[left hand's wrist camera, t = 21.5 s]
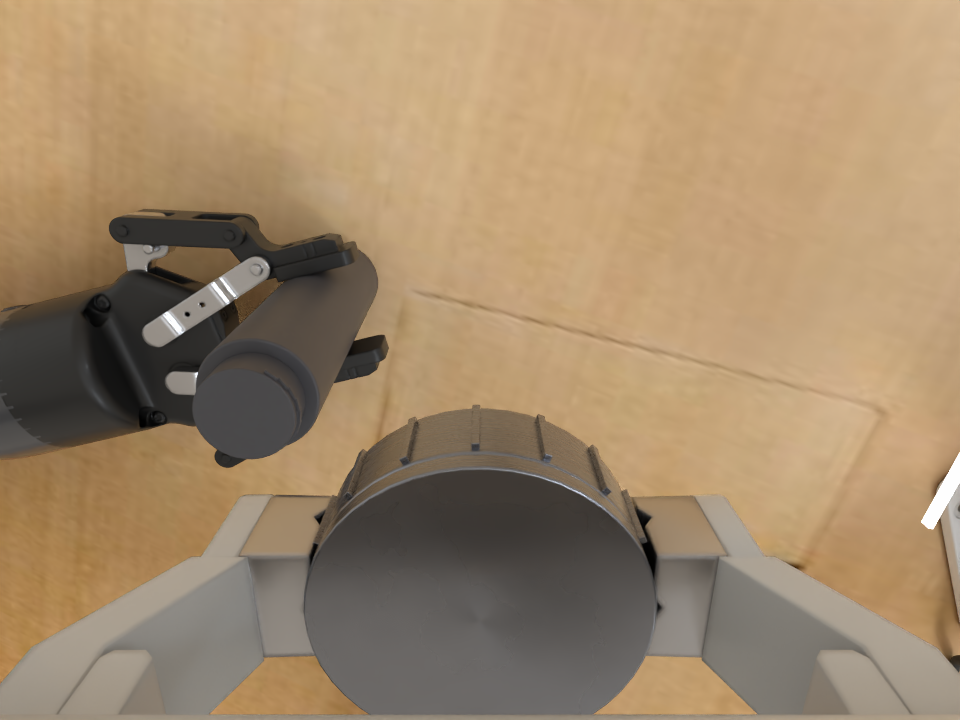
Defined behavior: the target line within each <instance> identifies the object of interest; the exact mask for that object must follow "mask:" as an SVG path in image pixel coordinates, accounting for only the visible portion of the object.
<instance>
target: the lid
mask: <svg viewBox="0 0 960 720" xmlns="http://www.w3.org/2000/svg"><path fill="white" fill-rule="evenodd" d="M646 542H647V540H646V537H645V535H644V532H643V529H642V527H641V524H640V522H639V519H638V517H637V514H636V511H635V509H634V506H633V504H632V501H631V499H630V496H629V494H628V491H627V490H623V491H621V489H620V487H619V484H618V483H617V481H616V479H615V478H614V476H613V475H612V473H611V471H610V470H609V468H608V467H607V466H606V465H605V464H604V462H603V461H602V460H601V458H600V456H599V453H598V450H597V448H596V447H595V446H594V445H591V446H590V447H588V446H587V445H585V444H584V443H583V442H582V441H580V440H579V439H577V438H576V437H574V436H573V435H571V434H570V433H568V432H567V431H565V430H563V429H561V428H559V427H557V426H555V425H553V424H551V423H549V422H546V421H545V417H544V416H542V415H539V414H538V415H537V417H536V418H535V417H532V416H529V415H525V414H521V413H516V412H512V411H507V410H496V409H480V405H473V409H463V410H455V411H448V412H443V413H439V414H436V415H432V416H428V417H425V418H422V419H420V420H417V419H416V417H413V418H411V419H409V422H408V424H407V425H405V426H403V427H401V428H400V429H398V430H396V431H394V432H392V433H391V434H389V435H387V436H386V437H385V438H383V439H382V440H381V441H379V442H378V443H377V444H375V445H374V446H373V447H372V448H371V449H370V450H369V451H368V452H366V451H365V450H364V449H363V450H362V451H361V452H360V453H359V454H358V457H357V460H356V462H355V465H354V467H353V469H352V470H351V471H350V473H349V474H348V476H347V478H346V479H345V481H344V483H343V485H342V487H341V489H340V491H339V493H338V496H334V495H332V497H331V499H330V501H329V504H328V506H327V509H326V511H325V514H324V516H323V519H322V521H321V524H320V526H319V529H318V531H317V534H316V536H315V538H314V541H313V544H314V549H316V552H315V555H314V557H313V560H312V563H311V566H310V569H309V572H308V574H307V578H306V584H305V590H304V618H305V625H306V631H307V634H308V638H309V641H310V644H311V647H312V650H313V652H314V654H315V656H316V657H317V659H318V661H319V663H320V665H321V667H322V668H323V670H324V671H325V673H326V674H327V675H328V677H329V678H330V680H331V681H332V682H333V683H334V684H335V685H336V687H337V688H338V689H339V690H340V691H341V692H342V693H343V694H344V695H345V696H346V697H347V698H348V699H350V700H351V701H352V702H353V703H354V704H356V705H357V706H358V707H359V708H361V709H362V710H364V711H365V712H367V713H368V714H370V715H592V714H594V713H595V712H597V711H598V710H599V709H601V708H602V707H604V706H605V705H606V704H608V703H609V702H610V701H611V700H612V699H613V698H614V697H615V696H616V695H617V694H619V693H620V692H621V691H622V690H623V688H624V687H625V686H626V685H627V684H628V682H629V681H630V680H631V679H632V678H633V676H634V675H635V673H636V672H637V670H638V668H639V667H640V665H641V664H642V662H643V660H644V658H645V656H646V654H647V651H648V649H649V647H650V644H651V641H652V637H653V633H654V629H655V625H656V615H657V596H656V587H655V582H654V578H653V574H652V570H651V567H650V565H649V562H648V559H647V557H646V554H645V551H644V549H643V546H642V544H643V543H646Z"/></svg>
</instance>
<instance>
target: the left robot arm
mask: <svg viewBox="0 0 960 720" xmlns="http://www.w3.org/2000/svg"><path fill="white" fill-rule="evenodd" d="M331 497H332V496H305V495H275V496H274V495H244V496H242V497H240V498H239V499H238V500H237V502H236V503H235V505H234V506H233V508H232V509H231V511H230V513H229V514H228V516H227V517H226V519H225V520H224V522H223V523H222V525H221V526H220V528H219V530H218V531H217V533H216V534H215V536H214V537H213V539H212V540H211V542H210V543H209V545H208V546H207V548H206V550H205V551H204V553H203V554H202V556H201V557H190V558H188V559H186V560H185V561H183V562H181V563H179V564H178V565H176V566H174V567H172V568H171V569H169V570H167V571H165V572H164V573H162V574H160V575H158V576H156V577H155V578H153V579H151V580H149V581H148V582H146V583H144V584H142V585H141V586H139V587H137V588H135V589H134V590H132V591H130V592H128V593H126V594H125V595H123V596H121V597H119V598H118V599H116V600H114V601H112V602H111V603H109V604H107V605H105V606H103V607H102V608H100V609H98V610H96V611H95V612H93V613H91V614H89V615H88V616H86V617H84V618H82V619H81V620H79V621H77V622H75V623H73V624H72V625H70V626H68V627H66V628H65V629H63V630H61V631H59V632H58V633H56V634H54V635H52V636H51V637H49V638H47V639H45V640H43V641H42V642H40V643H38V644H36V645H35V646H33V647H31V649H30V650H29V651H28V652H27V653H26V654H25V656H24V657H23V658H22V659H21V660H20V661H19V663H18V664H17V665H16V666H15V667H14V668H13V670H12V671H11V672H10V673H9V674H8V675H7V677H6V678H5V679H4V680H3V681H2V682H1V684H0V720H960V674H959V671H960V655H957V656H953V657H952V658H951V660H950V662H949V661H948V660H947V659H946V657H945V656H944V655H943V654H942V653H941V652H940V650H939V649H938V648H936V647H935V646H933V645H931V644H929V643H927V642H926V641H924V640H922V639H920V638H919V637H917V636H915V635H913V634H911V633H910V632H908V631H906V630H904V629H903V628H901V627H899V626H897V625H895V624H894V623H892V622H890V621H888V620H887V619H885V618H883V617H881V616H879V615H878V614H876V613H874V612H872V611H871V610H869V609H867V608H865V607H863V606H862V605H860V604H858V603H856V602H855V601H853V600H851V599H849V598H847V597H846V596H844V595H842V594H840V593H839V592H837V591H835V590H833V589H832V588H830V587H828V586H826V585H824V584H823V583H821V582H819V581H817V580H816V579H814V578H812V577H810V576H808V575H807V574H805V573H803V572H801V571H800V570H798V569H796V568H794V567H792V566H791V565H789V564H787V563H785V562H784V561H782V560H780V559H778V558H776V557H765V555H764V554H763V552H762V551H761V549H760V548H759V546H758V545H757V543H756V542H755V540H754V539H753V537H752V536H751V534H750V533H749V531H748V530H747V528H746V527H745V525H744V524H743V522H742V521H741V519H740V518H739V516H738V515H737V514H736V512H735V511H734V509H733V508H732V506H731V505H730V503H729V502H728V500H727V499H726V497H724V496H722V495H721V494H714V495H690V496H655V497H630V499H631V501H632V504H633V506H634V509H635V511H636V514H637V517H638V519H639V522H640V524H641V527H642V529H643V532H644V535H645V537H646V540H647V542H646V543H643V544H642V546H643V549H644V551H645V554H646V557H647V559H648V562H649V565H650V567H651V570H652V574H653V578H654V582H655V587H656V596H657V615H656V625H655V629H654V633H653V637H652V641H651V644H650V647H649V649H648V651H647V654H646V656H673V657H702V661H703V662H704V663H705V664H706V665H708V666H709V667H710V668H711V669H712V670H713V671H714V672H715V673H716V674H717V675H718V676H719V677H720V678H721V679H722V680H723V681H724V682H725V683H726V684H727V685H728V686H729V687H730V688H731V689H732V690H733V691H734V692H735V693H736V694H737V695H739V696H740V697H741V698H742V699H743V700H744V701H745V702H746V703H747V704H748V705H749V706H750V707H751V708H752V709H753V710H754V711H755V712H756V713H757V714H758V715H209V714H210V713H211V712H212V711H213V710H214V709H215V708H216V707H217V706H218V705H219V704H220V703H221V702H222V701H223V700H224V699H225V698H226V697H227V696H228V695H229V694H230V693H231V692H232V691H233V690H234V689H235V688H236V687H237V686H238V685H239V684H240V683H241V682H242V681H243V680H244V679H246V678H247V677H248V676H249V675H250V674H251V673H252V672H253V671H254V670H255V669H256V668H257V667H258V666H259V665H260V664H261V663H262V662H263V661H264V657H292V656H315V654H314V652H313V650H312V647H311V644H310V641H309V638H308V634H307V631H306V625H305V618H304V590H305V584H306V578H307V574H308V572H309V569H310V566H311V563H312V560H313V557H314V555H315V552H316V549H314V544H313V541H314V538H315V536H316V534H317V531H318V529H319V526H320V524H321V521H322V519H323V516H324V514H325V511H326V509H327V506H328V504H329V501H330V499H331ZM939 517H940V519H941V525H942V530H943V536H944V541H945V547H946V552H947V558H948V563H949V569H950V574H951V580H952V585H953V590H954V596H955V601H956V607H957V612H958V617H959V622H960V453H959V455H958V457H957V459H956V461H955V462H954V464H953V466H952V468H951V469H950V471H949V473H948V475H947V477H946V478H944V479H943V480H942V481H941V483H940V484H939V485H938V487H937V490H936V496H935V498H934V500H933V502H932V504H931V505H930V507H929V509H928V511H927V513H926V514H925V516H924V518H923V520H922V523H923V524H924V525H925V526H926V527H928V528H930V529H933V528H934V526H935V524H936V523H937V521H938V519H939Z"/></svg>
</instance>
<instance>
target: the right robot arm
mask: <svg viewBox="0 0 960 720" xmlns="http://www.w3.org/2000/svg"><path fill="white" fill-rule="evenodd" d="M109 231H110V234H111V236H112V237H113V238H114V239H115V240H116V241H117V242H119V243H122V244H123V246H124V252H125V258H126V264H127V270H128V271H127V272H125V273H124V274H122V275H121V276H120V277H119V278H118V279H117V281H116V282H115V283H113V284H111V285H107V286H103V287H99V288H95V289H91V290H87V291H83V292H79V293H75V294H71V295H67V296H63V297H59V298H55V299H51V300H47V301H43V302H39V303H35V304H31V305H20V306H14V307H9V308H6V309H3V310H2V311H0V460H7V459H18V458H24V457H30V456H35V455H40V454H44V453H48V452H53V451H57V450H61V449H66V448H70V447H74V446H79V445H83V444H87V443H91V442H96V441H100V440H105V439H109V438H113V437H118V436H122V435H126V434H130V433H135V432H139V431H143V430H148V429H151V428H155V427H158V426H161V425H164V424H169V423H177V424H183V425H187V426H196V424H195V421H194V418H193V411H192V404H193V398H194V395H195V392H196V378H197V374H198V371H199V368H200V366H201V364H202V362H203V361H204V359H205V358H206V357H207V356H208V355H209V354H210V353H211V352H212V351H213V350H214V349H215V348H216V347H217V346H218V345H219V344H220V343H221V342H222V341H223V340H224V339H225V338H226V337H227V336H228V335H229V334H230V333H231V332H232V331H233V330H234V329H235V328H237V327H238V326H239V317H238V311H237V308H236V306H235V304H234V301H233V300H235V299H236V298H238V297H239V296H241V295H242V294H244V293H246V292H247V291H249V290H250V289H252V288H253V287H255V286H257V285H258V284H260V283H261V282H263V281H265V280H268V279H272V278H277V280H278V282H282V281H286V280H290V279H293V278H297V277H302V276H306V275H310V274H314V273H318V272H323V271H327V270H331V269H335V268H339V267H343V266H346V265H349V264H352V263H354V262H355V261H356V260H357V258H358V257H359V256H360V255H359V252H358V249H357V246H356V243H355V242H348V243H344V244H343V241H342V238H341V235H338V234H330V233H329V234H325V235H321V236H317V237H313V238H309V239H305V240H301V241H297V242H293V243H289V244H285V245H275V244H273V243H271V242H269V241H268V240H267V239H266V238H265V237H264V235H263V234H262V233H261V232H260V230H259V224H258V222H257V220H256V219H255V218H254V217H253V216H251V215H249V214H240V213H218V212H197V211H175V210H154V209H143V210H139V211H136V212H132V213H129V214H126V215H123V216H121V217H117V218H115V219H113V220H112V221H111V222H110V225H109ZM176 246H182V247H205V248H228V249H230V250H231V251H232V253H233V254H234V255H235V256H236V257H237V259H238V260H239V261H240V262H241V263H240V264H238V265H236V266H235V267H233V268H232V269H230V270H229V271H227V272H226V273H224V274H223V275H221V276H219V277H218V278H216V279H215V280H213V281H212V282H210V283H209V284H207V285H206V284H203V283H201V282H198V281H195V280H192V279H190V278H187V277H184V276H182V275H179V274H176V273H173V272H171V271H168V270H165V269H162V268H160V267H157V266H156V260H157V259H158V258H162V257H164V256H166V255H168V254H170V253H172V252H173V251H174V250H175V248H176ZM388 349H389V347H388V344H387V341H386V338H385V335H377V336H373V337H368V338H364V339H360V340H356V341H353V344H352V346H351V348H350V350H349V352H348V354H347V356H346V358H345V360H344V362H343V364H342V366H341V369H340V371H339V373H338V375H337V377H336V379H335V381H334V383H337V382H341V381H345V380H349V379H354V378H357V377H363V376H367V375H370V374H371V373H373V372H374V371H375V370H377V368H378V365H379V362H380V361H382V360H384V359H385V358H386V355H387V352H388ZM215 460H216V462H217V463H218V464H219V465H220V466H222V467H226V468H230V467H233V466H235V465H237V464H239V463H240V462H242V461H244V460H246V459H242V458H237V457H233V456H230V455H227V454H225V453H223V452H221V451H219V450H217V451H216V453H215Z"/></svg>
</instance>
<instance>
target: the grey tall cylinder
mask: <svg viewBox="0 0 960 720" xmlns="http://www.w3.org/2000/svg"><path fill="white" fill-rule="evenodd" d="M358 252H359V255H360V256H359V257H358V258H357V260H356V261H355V262H354V263H352V264H349V265H346V266H343V267H339V268H335V269H331V270H327V271H323V272H318V273H314V274H310V275H306V276H302V277H297V278H293V279H290V280H286V281H284V282H283V283H282V284H281V285H280V286H279V287H278V288H277V289H276V290H275V291H274V292H273V293H272V294H271V295H270V296H269V297H268V298H267V299H266V300H265V301H264V302H263V303H261V304H260V305H259V306H258V307H257V308H256V309H255V310H254V311H253V312H252V313H251V314H250V315H249V316H248V317H247V318H246V319H245V320H244V321H243V322H242V323H241V324H240V325H239V326H238V327H237V328H235V329H234V330H233V331H232V332H231V333H230V334H229V335H228V336H227V337H226V338H225V339H224V340H223V341H222V342H221V343H220V344H219V345H218V346H217V347H216V348H215V349H214V350H213V351H212V352H211V353H210V354H209V355H208V356H207V357H206V358H205V359H204V361H203V362H202V364H201V366H200V368H199V371H198V374H197V378H196V392H195V395H194V398H193V404H192V411H193V418H194V421H195V424H196V426H197V428H198V430H199V432H200V433H201V435H202V436H203V437H204V439H205V440H206V441H207V442H208V443H209V444H211V445H212V446H213V447H214V448H216V449H218V450H219V451H221V452H223V453H225V454H227V455H230V456H233V457H237V458H242V459H259V458H264V457H267V456H270V455H272V454H274V453H276V452H278V451H279V450H281V449H282V448H283V447H285V446H286V445H289V444H291V443H293V442H295V441H297V440H299V439H300V438H302V437H303V436H304V435H305V434H306V433H307V432H308V431H309V430H310V429H311V427H312V426H313V424H314V423H315V421H316V419H317V417H318V414H319V412H320V410H321V408H322V406H323V404H324V402H325V400H326V398H327V396H328V394H329V392H330V389H331V387H332V385H333V383H334V381H335V379H336V377H337V375H338V373H339V371H340V369H341V366H342V364H343V362H344V360H345V358H346V356H347V354H348V352H349V350H350V348H351V346H352V344H353V341H354V339H355V337H356V335H357V333H358V331H359V329H360V327H361V325H362V323H363V321H364V318H365V316H366V314H367V312H368V310H369V308H370V306H371V304H372V302H373V300H374V298H375V295H376V292H377V288H378V278H377V273H376V270H375V268H374V266H373V264H372V262H371V261H370V260H369V258H368V257H367V256H366V255H365V254H364V253H362V252H361V251H359V250H358Z"/></svg>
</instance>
